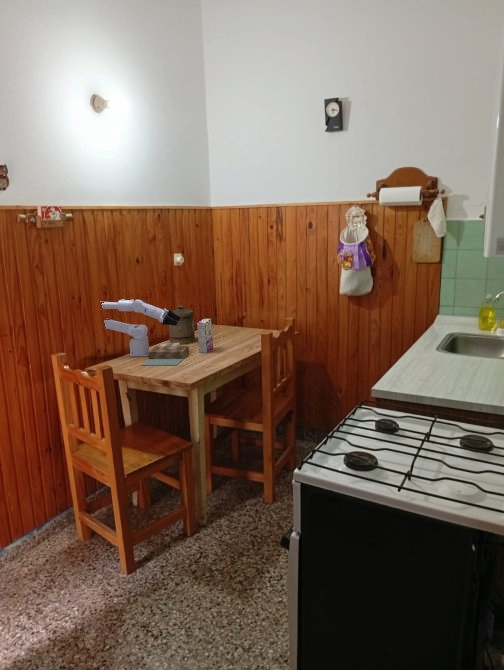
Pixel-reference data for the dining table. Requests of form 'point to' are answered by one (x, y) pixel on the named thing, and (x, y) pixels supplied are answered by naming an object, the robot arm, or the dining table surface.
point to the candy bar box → (205, 335)
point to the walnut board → (169, 353)
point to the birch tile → (169, 346)
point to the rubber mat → (162, 362)
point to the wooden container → (183, 327)
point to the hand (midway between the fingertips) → (178, 321)
